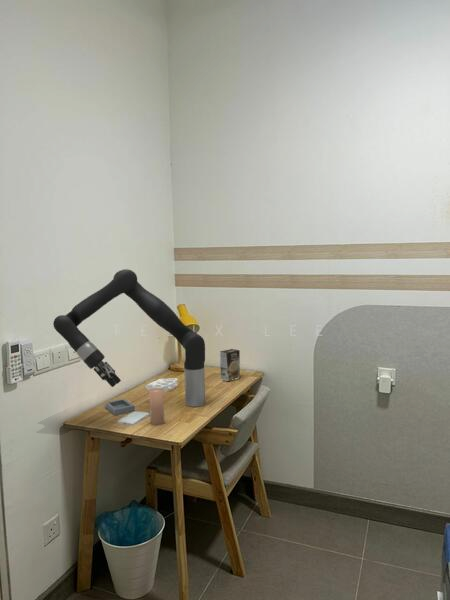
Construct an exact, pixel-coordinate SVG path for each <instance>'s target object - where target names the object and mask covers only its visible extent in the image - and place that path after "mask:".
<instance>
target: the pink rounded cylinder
mask: <svg viewBox="0 0 450 600" xmlns="http://www.w3.org/2000/svg"><path fill="white" fill-rule="evenodd" d="M148 392H149V393H148V394H149V414H150V416H149V417H150V424H151V425H152V426H161V425H163V424H164V423H165V407H164V392H163V389H162V388H153V389H150V390H148Z"/></svg>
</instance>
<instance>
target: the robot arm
mask: <svg viewBox="0 0 450 600" xmlns="http://www.w3.org/2000/svg"><path fill="white" fill-rule="evenodd" d="M122 294H124V295H126V296H127V297H128V298H129V299H131V300H132V301H133V302H134V303H136V305H137V306H138V307H139V308H140V309H141V310H142V311H143V312H144V313H145V314H146V315H147V316H148V317H149V318H150V319H151V320H152V321H153V322H154V323H155V324H157V325H158V326H159V327H160V328H162V329H163V330H165V331H166V332H167V333H169V334H171V335H172V336H173V337H174V338H175V339H176V340H177V342H178V343H180V345H181V346H182V348H184V351H185V355H184V357H185V359H184V363H183V367H184V370H183V371H184V392H185V395H184V396H185V397H184V398H185V399H184V400H185V405H186V406H188V407H192V408H193V407H195V408H196V407H197V408H198V407H202V406H204V405H205V404H206V384H205V380H206V378H205V361H206V343H205V342H206V341H205V340H204V338H203V336H201V335H200V334H198V333H196V332H195V331H194V330H192V329H191V328H190V327H188V326H187V325H186V324H185V323H184V322H182V320H181V319H180V318H179V316H178V315H177V314H176V313H175V312H174V311H173V309H171V307H170V306H169V305H167V304H166V302H164V301H163V300H162V299H160V297H158V296H156V295H155V294H153V293H152V292H150V291H149V290H147V289H146V288H144V286H143V285H142V284H140V282H139V281H138V277H137V274H136V272H135V271H133V270H131V269H128V268H126V269H121V270H118V271H117V272H116V273H115V274H114V275H113V278H112V280H111V281H110V282H108V283H107V284H106V285H105V286H103V287H102V288H100V289H99V290H97V291H96V292H94V293H92V294H90V295H89V296H87V297H86V298H84V299H83V300H82V301H80V302H79V303H77V304H76V305H75V306H73V308H72V309H71V311H69V312H68V313H67V314H61V315H58V316H56V317H55V318H54V320H53V325H52V326H53V328H54V330H55V331H56V332H57V333H58V334H59V336H61V337H62V338H63V339H65V341H66V342H67V343H68V345H69V346H70V348H71V349H72V350H74V352H75V353H76V354H77V355H78V357H79V359H81V360H82V362H83V363H84V364H85V365H86V366H87V367H88V368H89V369H91V370H92V369H93V371H94V372H95V373H96V374H97V375H98V376H99V378H100V379H101V380H102V381H105V382H107V384H108V385H109V386H111V388H115V386H116V385H117V384H120V382H122V380H121V378H120V377H119V376H118V375H117V373H116V370H115V369H114V368H113V367H112V366H111V365H110V364H109V363H108V362H107V361H105V362H104V361H103V360H104V359H105V355H104V354H103V353H102V352H101V350H99V348H98V347H97V346H96V345H95V343H93V342H91V341H90V339H89V338H88V337H87V336H86V335H85V334H84V333H83V332H82V331H81V330H80V329H79V328H78V326H79V325H80V324H82V322H84V321H85V320H87V319H88V318H90V317H91V316H92V315H94V314H95V313H96V312H98V311H99V310H100V309H102V308H103V307H104V306H106V305H107V304H108V303H110V302H111V301H112V300H113V299H115V298H117V297H118V296H120V295H122Z"/></svg>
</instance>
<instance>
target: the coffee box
mask: <svg viewBox="0 0 450 600" xmlns="http://www.w3.org/2000/svg"><path fill="white" fill-rule="evenodd" d="M219 352H220V353H219V357H220V361H219V362H220V380H221V379H223V380H226V381H229V380H232V379H235V378H238V377H240V378H241V367H240V365H241V363H240V362H241V361H240V359H241V358H240V352H241V351H240V350H239V349H234V348H230V349H226V350H225V349H224V350H220V351H219ZM223 380H222V381H223ZM226 381H225V382H226Z"/></svg>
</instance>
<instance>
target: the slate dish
mask: <svg viewBox="0 0 450 600" xmlns="http://www.w3.org/2000/svg"><path fill="white" fill-rule="evenodd" d="M104 404H105V405H104V407H105V409H106V410H108V411H109V412H110V413H111V414H113V415H114V416H119V415H122V414H123V415H124V414H128V413H130V412H131V413H132V412H134V411H136V408H135V405H134V404H133V403H132V402H130V401H129V400H127V399H126V398H121V399H115V400H112V401H105V402H104Z"/></svg>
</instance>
